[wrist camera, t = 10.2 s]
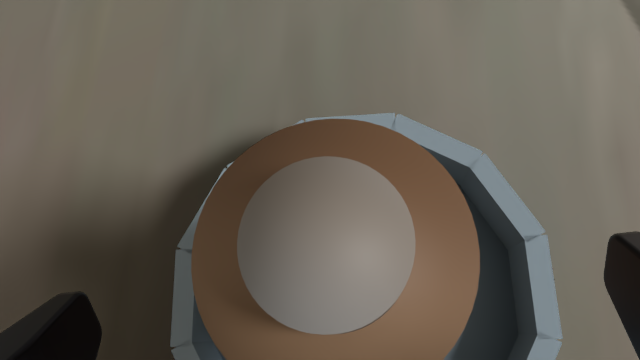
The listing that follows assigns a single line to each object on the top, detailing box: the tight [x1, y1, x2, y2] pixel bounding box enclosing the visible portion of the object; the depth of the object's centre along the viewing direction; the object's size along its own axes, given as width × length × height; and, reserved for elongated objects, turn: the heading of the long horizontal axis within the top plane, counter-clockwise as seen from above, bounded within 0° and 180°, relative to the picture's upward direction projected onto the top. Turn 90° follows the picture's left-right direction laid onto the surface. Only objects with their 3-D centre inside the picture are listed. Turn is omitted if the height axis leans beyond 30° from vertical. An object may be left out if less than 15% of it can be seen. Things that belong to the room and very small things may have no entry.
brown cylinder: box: [191, 119, 480, 360], centre depth 13 cm, size 4×4×12 cm
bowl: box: [170, 113, 563, 360], centre depth 18 cm, size 12×12×3 cm
